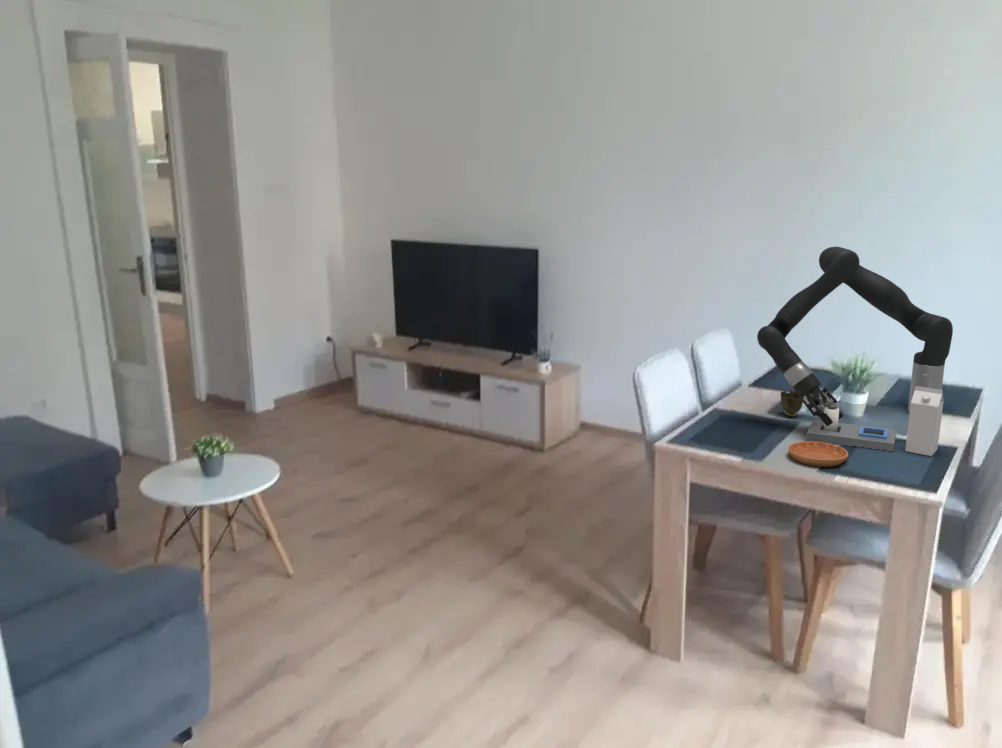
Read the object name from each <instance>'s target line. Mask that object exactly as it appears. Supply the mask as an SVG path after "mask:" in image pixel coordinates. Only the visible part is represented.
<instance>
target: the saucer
mask: <svg viewBox="0 0 1002 748" xmlns="http://www.w3.org/2000/svg"><path fill="white" fill-rule="evenodd" d="M787 449H788V454H789V455H790V456H791V457H792V458H793V459H794V460H795V461H797V462H798V463H801V464H804V465H807V466H812V467H818V466H819V467H820V468H830V467H836V466H839V465H841V464H842V463H844V462H845V461H846V460H847V459H848V457H849V452H848V451H847V449H845V448H844V447H842V446H841V445H837V444H830V443H824V442H815V441H807V440H806V441H799V442H794V443H791V444H790V445H789V446H788V448H787Z"/></svg>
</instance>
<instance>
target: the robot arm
mask: <svg viewBox="0 0 1002 748" xmlns="http://www.w3.org/2000/svg"><path fill="white" fill-rule="evenodd" d="M818 264H819V267H820V269H821V271H822V272H823V274H822V275H821V276H820V277H819V278H817V280H815V281H814V282H813V283H812V284H810V285H808V286H807V287H806V288H805V287H804V289H801V290H800V291H799V292H797V293H796V294H795V295H793V296H792V297H791V298H789V300H787V302H785V304H784V305H782V307H781V308H780V309H779V310H778V312H777V313H776V315H775V317H774V318H773V320H772V321H770V322H769V323H768V325H764V326H763V327H761V328H760V329H759V330H758V332H757V336H756V338H757V343H758V345H759V346H760V347H761V349H763V350H765V352H766V353H767V354H768V355H769V356H770V357H771V359H772V360H773V362H774V364H775V366H776V367H777V368H778V369H779V371H780V372H781V373H782V375H783V376H784V377H785V380H787V382H788V383H789V385H790V386H791V388H792V389H793V390H794V391H796V392H797V393H798V395H799V396H800V397H801V398H802V397H804V399H803V405H804V406H805V407H806V408H807V410H808V411H809V413H811V415H812V416H813V417H814V418H815V417H818V418H819V419H820V421H823V422H824V423H825V425H826V426H829V425H831V424H832V423H833V421H832V420H831V418H830V417H829V416H828V415H827V414H826V413H825V407H828V404H835V405H837V408H839V407H838V402H839V401H838V400H837V399H836V397H834V396H833V394H832V393H831V391H829V390H828V388H827V387H824V388H822V389H821V388H820V386H821V385H822V382H821V381H820V380H819V379H818V377H817V376H816V375H815V373H814V372H813V370H811V368H810V367H809V366H808V365H807V364H806V363H805V362H804V361H803V360H802V359H801V357H800V356H799V355H798V354H797V353H796V351H795V350H793V348H792V347H791V346H790V344H789V343H788V341H787V340H786V338H787V336H788V335H789V334H790V332H791V331H792V330H793V329H794V328H795V327H796V326H798V325H799V323H801V321H802V320H804V318H805V317H806V316H807V315H808V314H809V313H810V312H811V310H812V309H814V307H816V306H817V305H818V304H820V302H821V301H823V300H824V299H825V298H826V297H827V296H828V295H829V294H831V293H832V292H833V291H835V289H838V287H839V286H841V285H842V284H844V285H845V286H848V287H849V288H850V289H852V291H854V292H855V293H856V294H857V295H858V296H859V297H861V298H862V299H863V300H865V301H866V302H867V303H868V304H870V305H871V306H873V307H874V308H876V309H877V310H878V311H879V312H881V313H883V314H884V315H886V316H887V317H889V318H891V319H893V320H894V321H897V323H899V324H901V325H902V327H904V328H905V329H906V330H907V331H908V332H909V333H911V334H912V335H913V337H915V338H916V339H917V340H920V341H922V342H924V345H923V349H922V351H918V352H916V353H914V355H913V363H912V371H911V377H910V385H909V386H910V388H909V398H908V405H907V412H908V413H909V414H910V405H911V400H912V397H913V394H914V391H915V386H917V387H924V388H931V389H938V390H943V388H942V387H943V382H944V374H945V373H944V372H945V366H946V361H947V358H948V357H949V354H950V351H951V350H950V349H951V346H952V345H951V344H952V341H953V332H954V328H953V327H954V326H953V323H952V321H951V320H950V318H947V317H946V316H945V317H944V316H942V315H938V314H934V313H930V312H928V311H925V310H924V309H921V308H920V307H918V306H916V305H915V304H914V303H912V301H911V300H910V299H909V296H908V294H907V293H906V292H905V291H904V290H903V289H902V288H901V287H900V286H898V285H897V284H896V283H894V282H893V281H891V280H890V279H888V278H886V277H884V276H882V275H881V274H878V273H877V272H874V271H872V270H870V269H868V268H866V267H865V266H862V265H861V264H860V256H859V254H858V253H856V252H855V251H853V250H851V249H848V248H845V247H842V246H831V247H827V248H825V249H824V250H822V252H821V253H820V254H819V258H818ZM842 418H844V413H843V412H842V411H841V410H840V409H839V419H838V421H839V420H840V419H842Z"/></svg>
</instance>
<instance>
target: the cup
mask: <svg viewBox="0 0 1002 748" xmlns="http://www.w3.org/2000/svg"><path fill="white" fill-rule="evenodd" d="M804 399H805V397H802V398H801V397H800V396H799V395H798V393H797V392H796V391H795V390H794V391H793V390H792V389H791V390H790V391H789V392H787V391H786V390H784V391H781V392H780V405H781V408H782V410H783V412H784V415H785V416H786V417H787V416H789V417H788V418H795V417H797V415H798V414H797V413H799V412H800V411H801V409H802V407H803V405H804V403H803V400H804Z"/></svg>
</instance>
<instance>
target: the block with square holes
mask: <svg viewBox="0 0 1002 748" xmlns="http://www.w3.org/2000/svg"><path fill="white" fill-rule="evenodd" d="M896 437H897V429H893V428H891V429H890V428H886V427H885V428H884V427H875V426H868V425H861V424H860V425H859V424H853V423H851V424H850V423H845V422H844V423H843V422H838V431H837V432H832V431H824V422H823V421H822V420H821V419H820V420H818V419H812V421H811V423H810V425H809V428H808V430H807V431H806V437H805V438H806V441H815V442H824V443H830V444H834V445H837V446H846V445H847V447H852V446H856V447H855V448H860V447H864V448H863V449H867V448H872V449H871V450H875V449H878V450H877V451H882V450H886V451H885V452H890V451H895V443H896V439H897V438H896ZM857 446H858V447H857ZM879 449H880V450H879Z"/></svg>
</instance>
